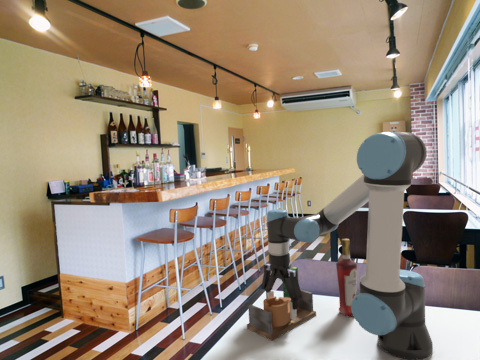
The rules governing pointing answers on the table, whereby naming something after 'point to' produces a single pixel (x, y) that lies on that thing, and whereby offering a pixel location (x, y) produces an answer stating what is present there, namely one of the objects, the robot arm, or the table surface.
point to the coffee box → (285, 292)
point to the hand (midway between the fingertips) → (282, 313)
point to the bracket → (278, 310)
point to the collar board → (263, 325)
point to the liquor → (346, 280)
